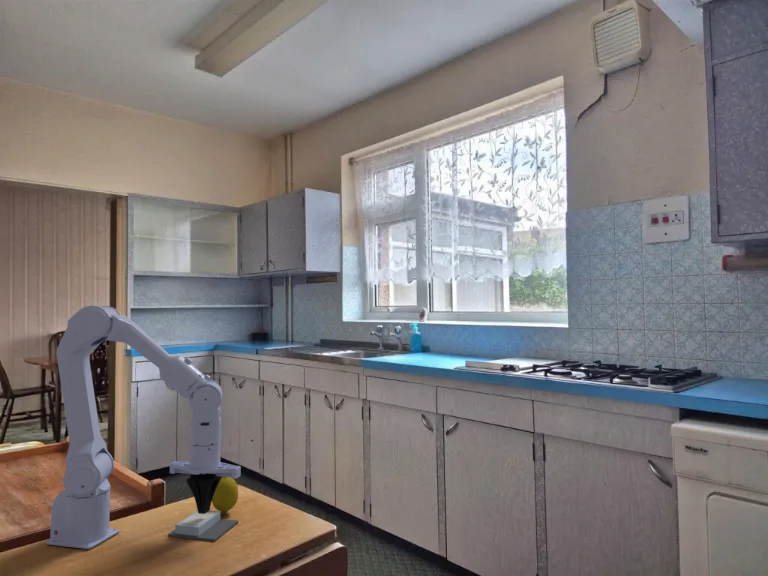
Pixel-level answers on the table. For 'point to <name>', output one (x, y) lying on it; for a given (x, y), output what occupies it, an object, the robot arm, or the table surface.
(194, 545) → the table surface
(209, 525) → the plaque
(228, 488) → the lemon
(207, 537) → the mat
